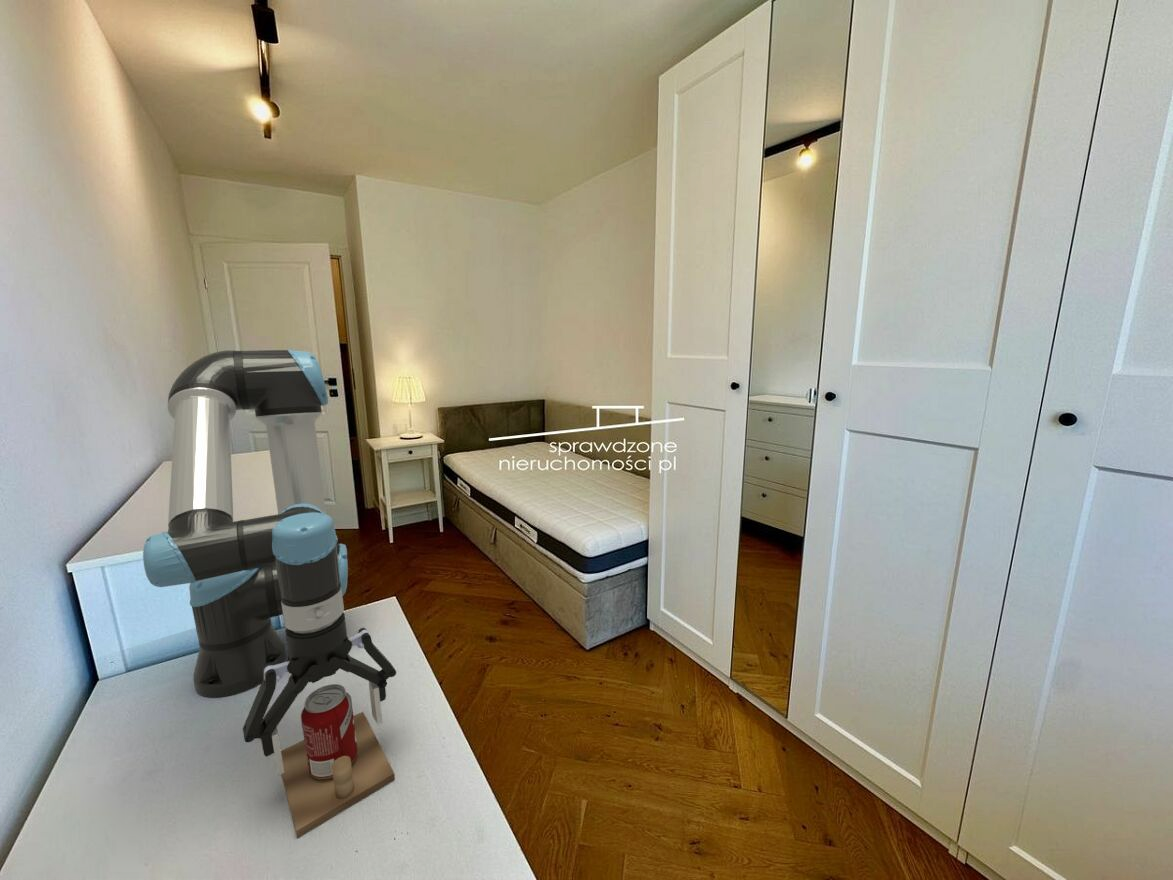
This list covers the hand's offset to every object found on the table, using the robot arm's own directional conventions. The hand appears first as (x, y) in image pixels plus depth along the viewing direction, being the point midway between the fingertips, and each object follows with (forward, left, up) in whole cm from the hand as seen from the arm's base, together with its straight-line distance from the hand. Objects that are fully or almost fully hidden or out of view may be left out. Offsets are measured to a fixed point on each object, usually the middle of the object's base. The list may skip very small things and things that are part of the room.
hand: (331, 742), depth 71 cm
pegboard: (0, 0, -5) cm, 5 cm away
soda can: (0, 0, -4) cm, 4 cm away
